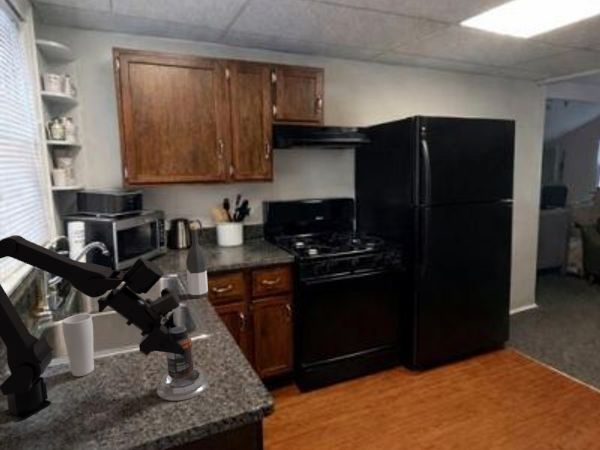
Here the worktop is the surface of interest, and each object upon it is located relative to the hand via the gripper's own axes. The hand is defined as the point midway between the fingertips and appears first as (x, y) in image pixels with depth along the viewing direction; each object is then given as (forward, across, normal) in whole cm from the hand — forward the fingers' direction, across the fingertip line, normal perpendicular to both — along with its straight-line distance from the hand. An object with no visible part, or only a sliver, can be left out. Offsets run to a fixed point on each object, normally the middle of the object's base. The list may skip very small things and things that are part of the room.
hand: (185, 347), depth 94 cm
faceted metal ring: (+6, 0, +8) cm, 10 cm away
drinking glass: (-12, +15, +27) cm, 33 cm away
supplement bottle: (+4, 0, +6) cm, 7 cm away
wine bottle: (+8, +72, +7) cm, 73 cm away
